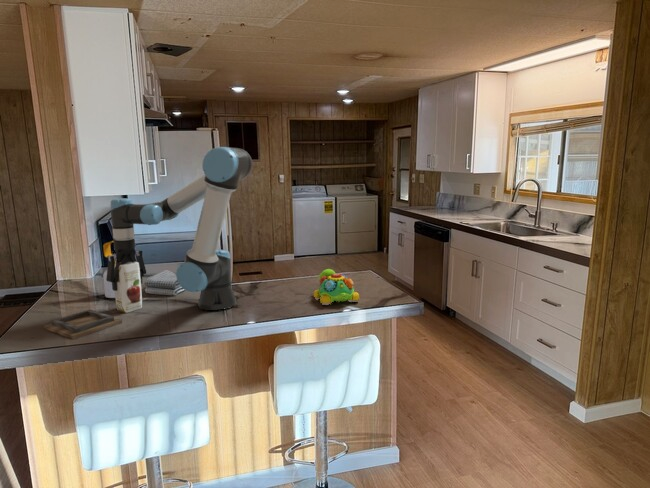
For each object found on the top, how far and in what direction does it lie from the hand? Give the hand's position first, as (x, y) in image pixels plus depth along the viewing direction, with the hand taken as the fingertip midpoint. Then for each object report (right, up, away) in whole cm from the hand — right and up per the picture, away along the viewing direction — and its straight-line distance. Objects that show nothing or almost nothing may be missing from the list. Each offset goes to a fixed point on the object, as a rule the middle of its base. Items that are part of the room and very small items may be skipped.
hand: (128, 295), depth 178 cm
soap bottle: (-14, -3, +20) cm, 25 cm away
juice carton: (0, -6, +1) cm, 6 cm away
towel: (+7, -1, +28) cm, 29 cm away
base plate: (-9, -9, -17) cm, 21 cm away
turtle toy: (+81, -4, +14) cm, 83 cm away
